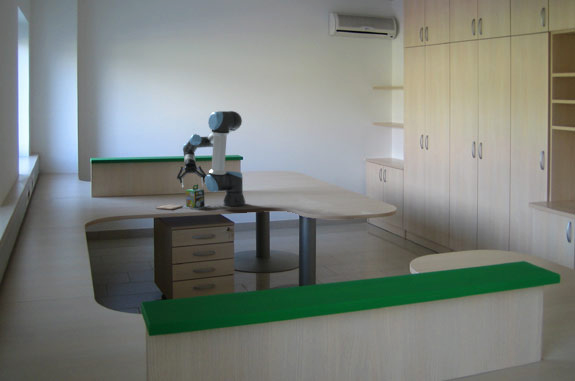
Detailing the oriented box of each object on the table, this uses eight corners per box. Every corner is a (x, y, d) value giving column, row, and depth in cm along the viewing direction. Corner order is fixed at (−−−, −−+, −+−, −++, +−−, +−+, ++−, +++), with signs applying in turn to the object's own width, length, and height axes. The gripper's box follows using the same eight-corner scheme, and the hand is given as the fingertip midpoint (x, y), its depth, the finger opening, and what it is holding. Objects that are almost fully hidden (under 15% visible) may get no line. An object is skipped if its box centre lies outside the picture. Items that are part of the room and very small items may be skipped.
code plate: (209, 205, 435) (209, 205, 435) (198, 209, 423) (198, 208, 423) (192, 204, 441) (192, 204, 441) (180, 207, 429) (180, 207, 429)
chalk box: (195, 204, 438) (195, 183, 436) (205, 206, 432) (204, 184, 430) (185, 206, 431) (185, 184, 429) (195, 207, 425) (194, 186, 423)
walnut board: (183, 207, 432) (183, 205, 432) (172, 210, 420) (171, 208, 420) (167, 205, 437) (167, 204, 437) (155, 208, 426) (155, 207, 426)
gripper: (207, 164, 454) (210, 188, 442) (171, 166, 448) (174, 190, 436) (208, 158, 448) (211, 182, 436) (172, 159, 442) (174, 183, 430)
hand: (192, 186), depth 436 cm, fingers open, 13 cm apart
